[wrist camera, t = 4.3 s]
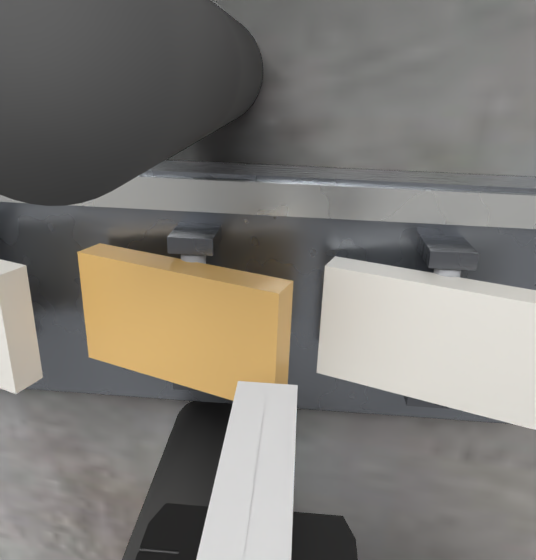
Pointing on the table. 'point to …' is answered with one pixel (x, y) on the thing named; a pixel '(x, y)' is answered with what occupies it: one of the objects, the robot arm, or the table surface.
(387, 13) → the table surface
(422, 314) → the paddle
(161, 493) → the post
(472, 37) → the table surface
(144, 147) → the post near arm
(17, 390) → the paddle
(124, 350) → the paddle mid
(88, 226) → the panel
